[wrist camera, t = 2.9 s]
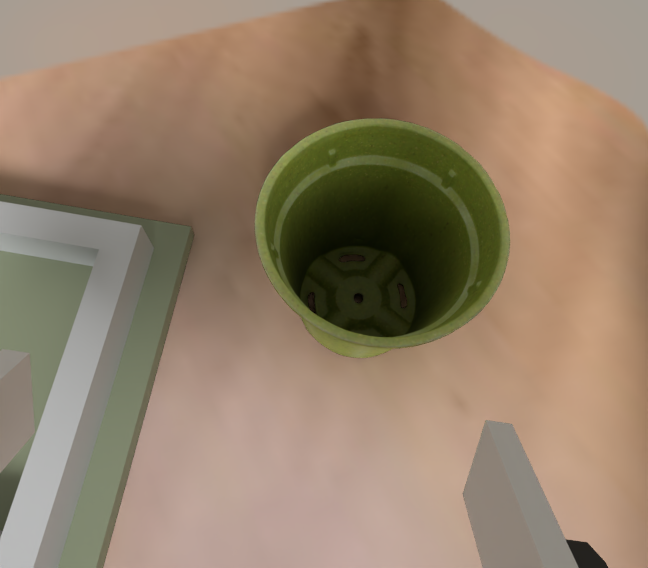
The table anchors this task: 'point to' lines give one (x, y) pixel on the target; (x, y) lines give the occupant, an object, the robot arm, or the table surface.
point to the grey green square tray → (80, 367)
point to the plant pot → (381, 234)
